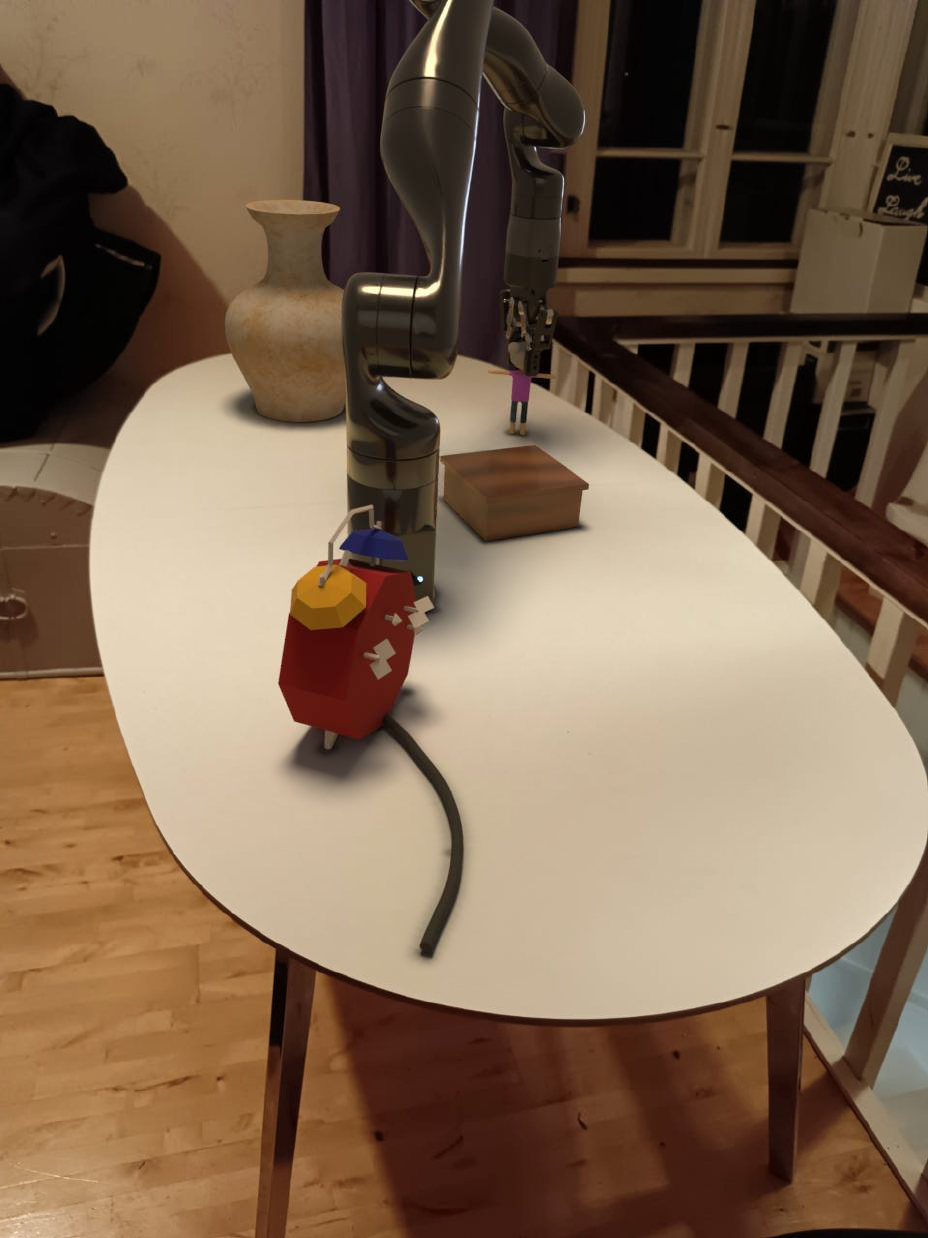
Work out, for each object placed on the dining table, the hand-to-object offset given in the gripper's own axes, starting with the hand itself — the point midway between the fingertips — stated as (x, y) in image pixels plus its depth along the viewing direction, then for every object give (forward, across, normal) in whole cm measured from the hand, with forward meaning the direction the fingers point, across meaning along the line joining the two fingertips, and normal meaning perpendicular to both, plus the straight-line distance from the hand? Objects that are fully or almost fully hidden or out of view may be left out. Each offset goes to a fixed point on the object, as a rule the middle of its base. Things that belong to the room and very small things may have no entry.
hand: (522, 369), depth 142 cm
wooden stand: (+10, +25, -14) cm, 31 cm away
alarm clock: (+10, +60, -46) cm, 76 cm away
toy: (+11, 0, 0) cm, 11 cm away
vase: (+11, -22, -28) cm, 37 cm away
